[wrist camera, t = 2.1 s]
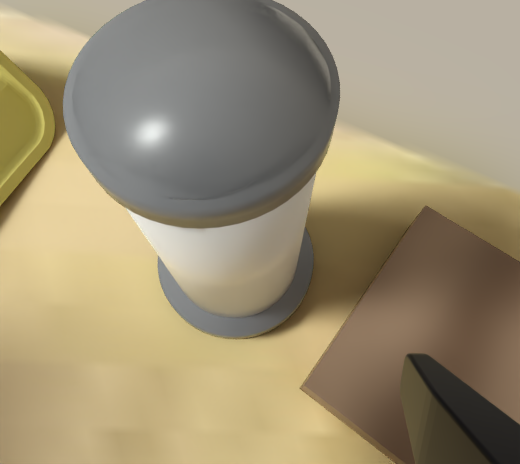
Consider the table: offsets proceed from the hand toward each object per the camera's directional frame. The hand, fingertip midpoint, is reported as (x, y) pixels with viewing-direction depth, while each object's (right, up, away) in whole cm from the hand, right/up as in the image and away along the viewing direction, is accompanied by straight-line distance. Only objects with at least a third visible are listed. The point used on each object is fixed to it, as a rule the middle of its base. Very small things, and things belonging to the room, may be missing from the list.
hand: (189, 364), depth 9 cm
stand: (+10, -3, +11) cm, 15 cm away
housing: (0, +1, +13) cm, 13 cm away
